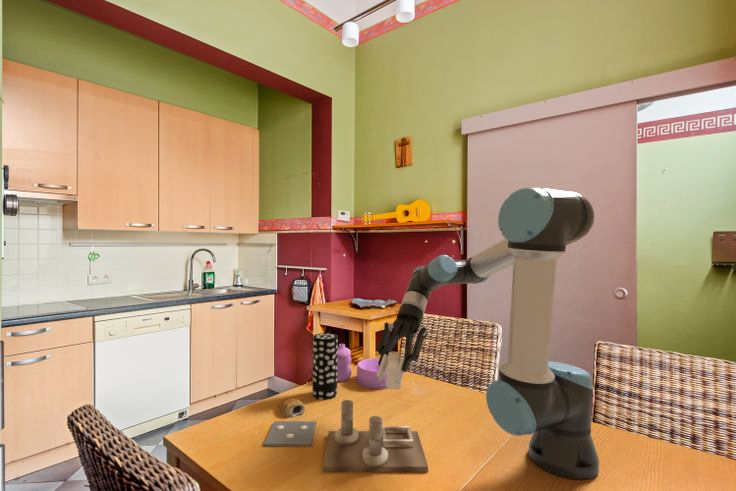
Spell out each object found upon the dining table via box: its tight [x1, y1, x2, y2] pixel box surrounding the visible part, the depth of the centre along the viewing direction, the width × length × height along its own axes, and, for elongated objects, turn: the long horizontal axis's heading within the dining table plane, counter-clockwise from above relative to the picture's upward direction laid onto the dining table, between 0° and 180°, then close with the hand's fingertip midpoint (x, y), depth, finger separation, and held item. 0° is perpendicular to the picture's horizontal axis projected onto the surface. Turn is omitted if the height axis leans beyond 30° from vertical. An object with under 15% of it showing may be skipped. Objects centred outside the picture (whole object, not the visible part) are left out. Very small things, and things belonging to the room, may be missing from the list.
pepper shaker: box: [386, 351, 402, 390], centre depth 106 cm, size 4×4×10 cm
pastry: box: [279, 398, 306, 418], centre depth 117 cm, size 9×7×4 cm
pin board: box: [322, 399, 429, 473], centre depth 94 cm, size 24×16×11 cm, turn 91°
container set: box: [337, 343, 389, 390], centre depth 142 cm, size 25×15×13 cm, turn 82°
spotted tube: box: [312, 332, 339, 401], centre depth 128 cm, size 8×8×20 cm
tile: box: [263, 420, 317, 447], centre depth 102 cm, size 12×12×1 cm
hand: (388, 379), depth 102 cm, fingers closed on pepper shaker, 5 cm apart
